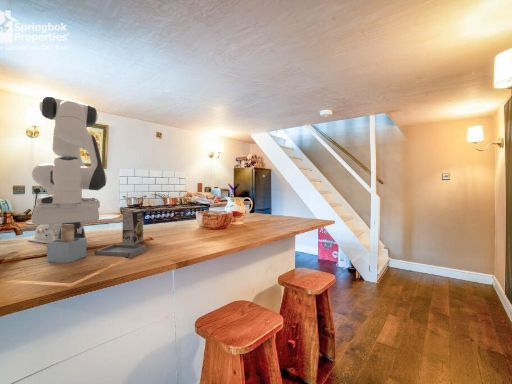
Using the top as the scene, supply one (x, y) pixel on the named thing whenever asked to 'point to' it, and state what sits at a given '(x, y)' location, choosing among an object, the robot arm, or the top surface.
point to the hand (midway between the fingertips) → (67, 234)
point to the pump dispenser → (76, 226)
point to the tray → (121, 250)
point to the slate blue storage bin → (66, 250)
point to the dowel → (67, 233)
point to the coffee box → (132, 227)
